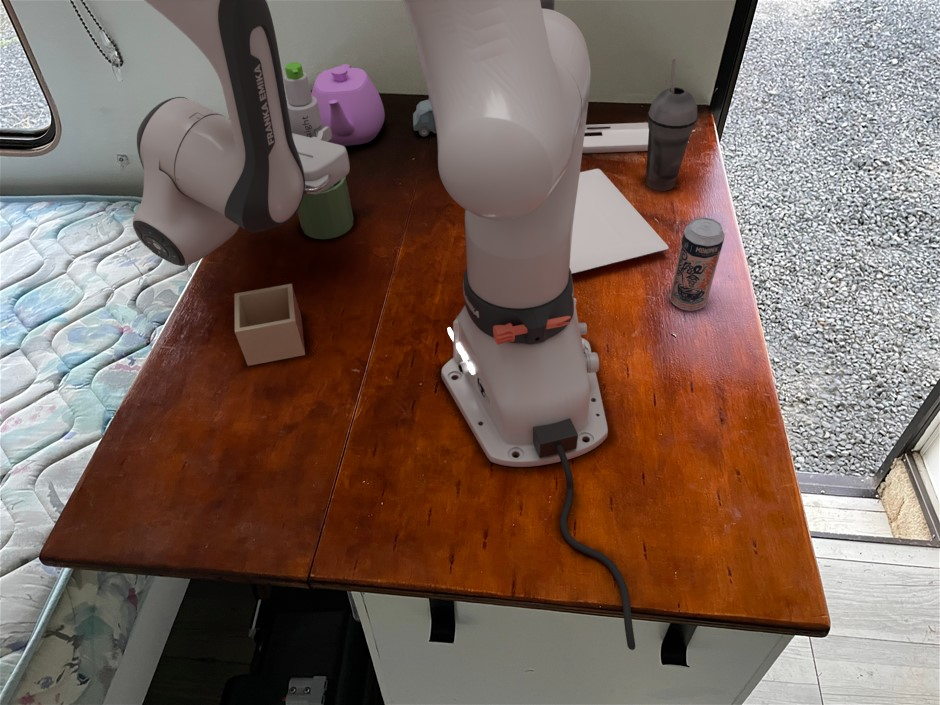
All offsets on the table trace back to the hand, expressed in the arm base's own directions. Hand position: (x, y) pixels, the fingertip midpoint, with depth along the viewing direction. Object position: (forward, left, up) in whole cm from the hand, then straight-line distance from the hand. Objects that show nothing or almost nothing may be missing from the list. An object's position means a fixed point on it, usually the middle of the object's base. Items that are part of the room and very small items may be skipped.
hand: (310, 126), depth 98 cm
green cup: (-1, 0, -16) cm, 16 cm away
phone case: (+9, -52, -16) cm, 55 cm away
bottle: (-1, +1, -11) cm, 11 cm away
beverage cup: (-5, -53, -16) cm, 55 cm away
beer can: (-32, -45, -16) cm, 57 cm away
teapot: (+25, -6, -16) cm, 30 cm away
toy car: (+23, -23, -16) cm, 36 cm away
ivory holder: (-25, +9, -16) cm, 31 cm away
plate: (-13, -34, -16) cm, 39 cm away
